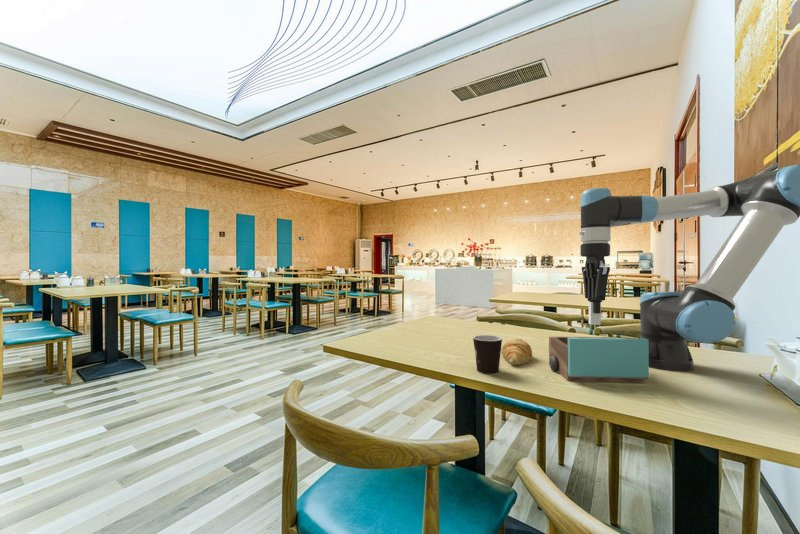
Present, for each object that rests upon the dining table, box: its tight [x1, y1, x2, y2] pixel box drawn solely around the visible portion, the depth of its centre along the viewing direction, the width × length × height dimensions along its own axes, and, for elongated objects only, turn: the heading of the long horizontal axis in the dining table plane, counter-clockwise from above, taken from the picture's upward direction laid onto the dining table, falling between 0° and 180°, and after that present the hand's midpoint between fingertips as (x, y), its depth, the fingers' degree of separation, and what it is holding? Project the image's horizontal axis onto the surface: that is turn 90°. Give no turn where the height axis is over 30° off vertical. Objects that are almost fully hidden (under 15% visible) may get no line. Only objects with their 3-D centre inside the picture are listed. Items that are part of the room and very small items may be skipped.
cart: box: [548, 336, 646, 384], centre depth 103 cm, size 23×16×9 cm
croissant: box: [501, 338, 533, 366], centre depth 119 cm, size 21×10×8 cm, turn 157°
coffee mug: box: [472, 334, 503, 375], centre depth 107 cm, size 12×9×10 cm
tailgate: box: [568, 337, 650, 380], centre depth 94 cm, size 20×2×11 cm, turn 84°
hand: (594, 324), depth 101 cm, fingers closed
